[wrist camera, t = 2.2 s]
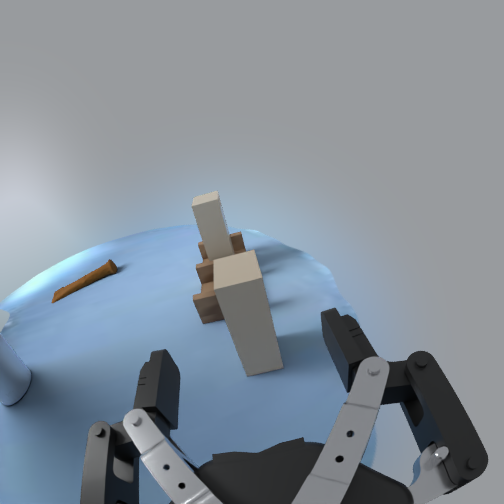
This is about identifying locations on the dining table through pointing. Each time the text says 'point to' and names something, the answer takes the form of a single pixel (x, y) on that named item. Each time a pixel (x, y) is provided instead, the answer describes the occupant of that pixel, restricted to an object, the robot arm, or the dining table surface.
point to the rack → (212, 283)
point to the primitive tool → (86, 280)
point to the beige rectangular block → (247, 312)
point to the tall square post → (212, 225)
